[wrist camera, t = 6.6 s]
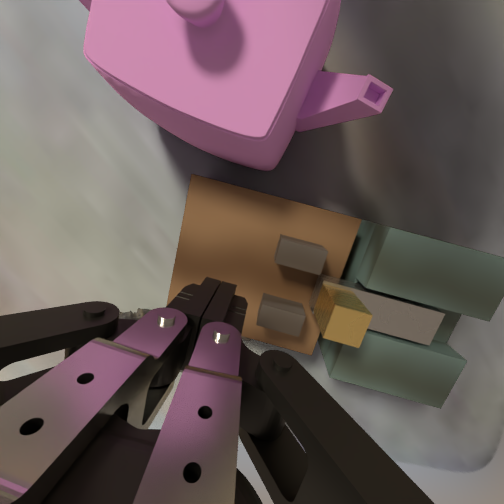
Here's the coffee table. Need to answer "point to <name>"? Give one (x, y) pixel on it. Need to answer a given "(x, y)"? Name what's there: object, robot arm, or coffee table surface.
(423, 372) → the block set
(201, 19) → the teapot
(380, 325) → the yellow-capped grey beam
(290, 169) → the coffee table surface
